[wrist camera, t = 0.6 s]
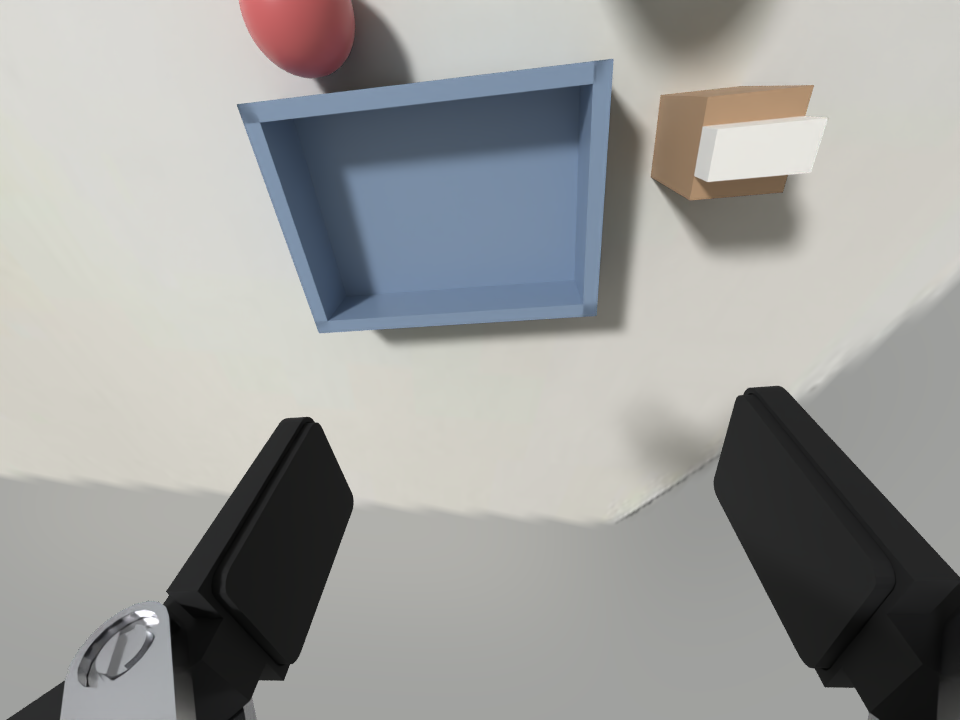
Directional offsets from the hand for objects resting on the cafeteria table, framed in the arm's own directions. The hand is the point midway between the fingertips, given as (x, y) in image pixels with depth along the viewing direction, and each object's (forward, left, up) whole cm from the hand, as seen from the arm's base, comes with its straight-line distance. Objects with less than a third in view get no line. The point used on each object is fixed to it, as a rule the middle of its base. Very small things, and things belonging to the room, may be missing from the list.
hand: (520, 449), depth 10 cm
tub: (+5, 0, -26) cm, 26 cm away
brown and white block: (-13, -3, -26) cm, 29 cm away
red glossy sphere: (+11, -12, -26) cm, 30 cm away
